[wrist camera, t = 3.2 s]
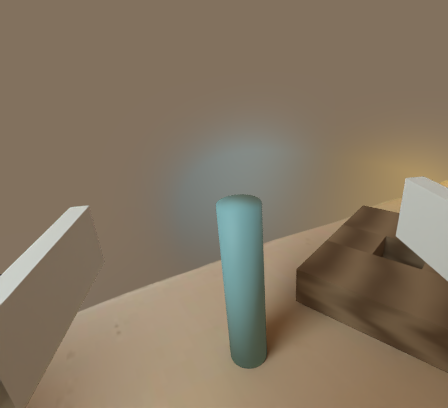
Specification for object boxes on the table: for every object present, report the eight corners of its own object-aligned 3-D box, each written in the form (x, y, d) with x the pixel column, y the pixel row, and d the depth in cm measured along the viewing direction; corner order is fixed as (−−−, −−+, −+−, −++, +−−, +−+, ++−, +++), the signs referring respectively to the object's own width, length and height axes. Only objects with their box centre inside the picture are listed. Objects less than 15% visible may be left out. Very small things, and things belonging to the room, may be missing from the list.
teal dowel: (273, 349, 30) (270, 200, 23) (252, 375, 27) (241, 217, 21) (245, 332, 32) (235, 191, 26) (223, 354, 30) (206, 206, 23)
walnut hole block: (489, 265, 39) (499, 234, 37) (466, 381, 25) (480, 342, 24) (360, 231, 49) (363, 205, 47) (296, 300, 36) (296, 269, 34)
